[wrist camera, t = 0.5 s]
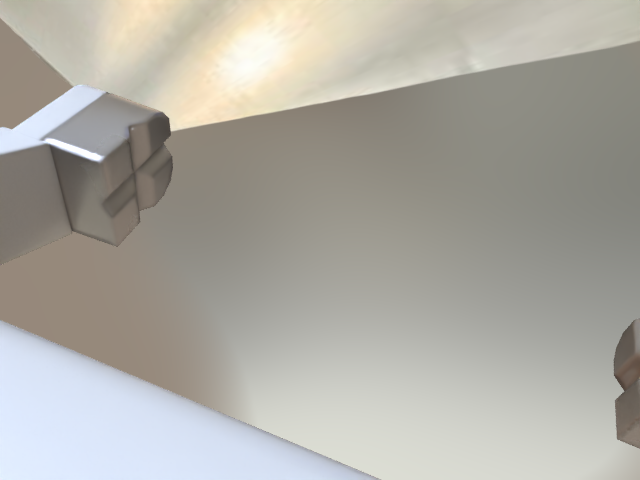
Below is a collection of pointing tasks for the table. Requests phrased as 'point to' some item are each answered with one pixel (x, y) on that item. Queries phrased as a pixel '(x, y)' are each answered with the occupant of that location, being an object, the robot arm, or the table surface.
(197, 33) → the table surface
